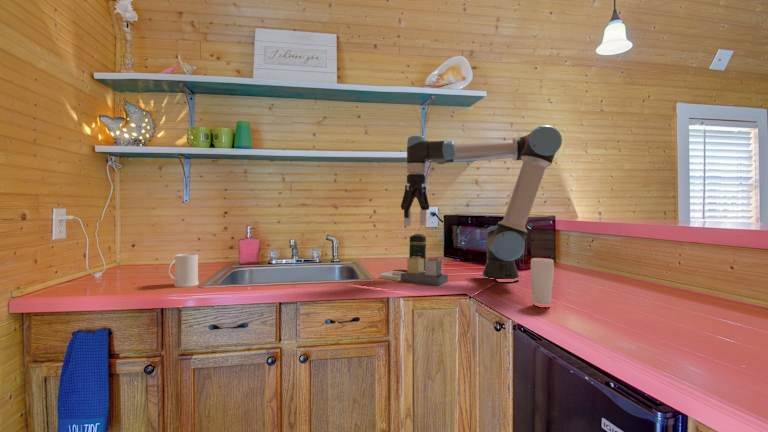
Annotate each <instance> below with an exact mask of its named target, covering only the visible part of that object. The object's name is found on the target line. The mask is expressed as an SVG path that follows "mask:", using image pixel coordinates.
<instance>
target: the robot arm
mask: <svg viewBox="0 0 768 432" xmlns="http://www.w3.org/2000/svg"><path fill="white" fill-rule="evenodd" d="M406 141H407V142H406V143H407V145H406V164H407V165H406V173H407V175H406V184H405V186H404V193H403V197H402V201H401V205H400V209H401V210H403V212H404V213H403V227H412V210H411V207H412V205H413V202H414V200H415V198H416V199H417V202H418V205H419V208H420V210H419V225H420V226H426V225H427V211H428V210H430V204H429V199H428V194H427V186H423V185H424V184H426V175H425V174H426V161H429V160H433V162H434V163H435V164H437V165H444V164H449V163H461V162H474V161H475V162H477V161H489V160H492V161H493V160H504V159H505V160H506V159H512V160H514V161H522V164H521V168H520V171H519V173H518V176H517V179H516V182H515V185H514V188H513V191H512V194H511V196H510V200H509V203H508V206H507V208H506V211H505V214H504V216H503V219H502V220H500V221H498V222H497V224H496V225H493V226H489V227H487V230H486V231H487V232H486V237H487V238H486V263H485V265H484V268H483V272H482V277H483V276H484V277H488V278H494V279H515V278H518V277H520V275H519V272H518V268H517V265H516V261H515V260H517V259H519V258H520V257H521V256H522V255H523V254H524V252H525V248H526V247H525V246H526V244H525V243H526V242H525V240H526V237H527V234H528V230H527V228H526V225H527V222H528V219H529V217H530V214H531V211H532V208H533V205H534V203H535V199H536V196H537V193H538V191H539V188H540V186H541V182H542V179H543V176H544V174H545V171H546V169H547V168H548V167H550V166H552V164H553V161H554V158H555V156H556V154H557V152H558V151H559V150H560V148H561V147H562V144H563V138H562V134H561V132H560V131H559V130H558V129H557V128H555V127H554V126H552V125H548V124H547V125H545V124H544V125H539V126H537V127H535V128H533V129H532V130H531V132H530V133H529V134H527V135H524V136H519V137H518V136H517V137H513V138H512V139H511V140H502V141H501V140H499V141H488V142H476V143H464V144H463V143H462V144H461V143H460V144H456V143H455V141H453V140H448V139H447V140H433V141H432V140H426V136H423V135H411V136H409V137H408V138H407V140H406Z"/></svg>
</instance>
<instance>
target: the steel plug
mask: <svg viewBox="0 0 768 432" xmlns="http://www.w3.org/2000/svg"><path fill="white" fill-rule="evenodd" d="M442 261H443V260H442V259H439V258H438V257H429V258H428V259H426V260H425V276H431V277H439V276H441V274H442V266H443V264H442Z"/></svg>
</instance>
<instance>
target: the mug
mask: <svg viewBox="0 0 768 432" xmlns="http://www.w3.org/2000/svg"><path fill="white" fill-rule="evenodd" d="M173 264H174V276H173V275H172V273H171V270H170V269H171V267H172V265H173ZM167 274H168V275H169V277H170V278H171V279H172V280H174V284H173V285H174V287H176V288H187V287H188V288H189V287H190V288H191V287H196V286H198V285H199V284H200V283H199V254H198V253H180V254H179V253H178V254H175V255H174V260H172V261H171V262H170V263H169V264H168V267H167Z"/></svg>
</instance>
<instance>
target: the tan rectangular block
mask: <svg viewBox="0 0 768 432" xmlns="http://www.w3.org/2000/svg"><path fill="white" fill-rule="evenodd" d="M406 260H407V261H406V262H407V263H406V264H407V266H406V267H407V268H406V269H407V270H406V272H407V274H414V275H420V274H424V258H421V257H419V256H412V257H411V258H407V259H406Z"/></svg>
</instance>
